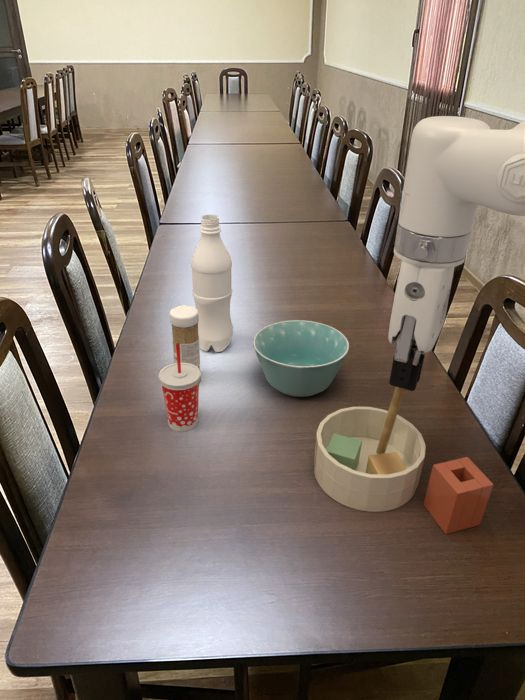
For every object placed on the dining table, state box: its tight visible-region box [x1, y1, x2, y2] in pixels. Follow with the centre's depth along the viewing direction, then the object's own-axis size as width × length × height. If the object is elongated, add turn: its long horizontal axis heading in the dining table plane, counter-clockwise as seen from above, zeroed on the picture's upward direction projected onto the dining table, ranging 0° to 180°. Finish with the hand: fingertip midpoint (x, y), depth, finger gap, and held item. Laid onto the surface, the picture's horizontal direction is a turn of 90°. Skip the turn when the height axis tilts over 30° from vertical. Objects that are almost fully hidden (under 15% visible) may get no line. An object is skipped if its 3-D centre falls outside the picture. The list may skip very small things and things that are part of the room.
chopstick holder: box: [423, 456, 494, 535], centre depth 66 cm, size 5×5×7 cm
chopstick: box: [376, 347, 415, 454], centre depth 69 cm, size 1×1×18 cm
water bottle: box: [190, 214, 234, 353], centre depth 96 cm, size 7×7×25 cm
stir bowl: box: [313, 406, 427, 513], centre depth 73 cm, size 14×14×6 cm
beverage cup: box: [158, 343, 202, 432], centre depth 79 cm, size 6×6×14 cm
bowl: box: [252, 319, 350, 398], centre depth 91 cm, size 16×16×8 cm
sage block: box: [326, 433, 362, 471], centre depth 73 cm, size 4×4×4 cm
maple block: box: [366, 452, 407, 475], centre depth 70 cm, size 4×4×4 cm
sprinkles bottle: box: [169, 304, 202, 383], centre depth 89 cm, size 5×5×13 cm
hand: (404, 382), depth 67 cm, fingers closed on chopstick, 1 cm apart
